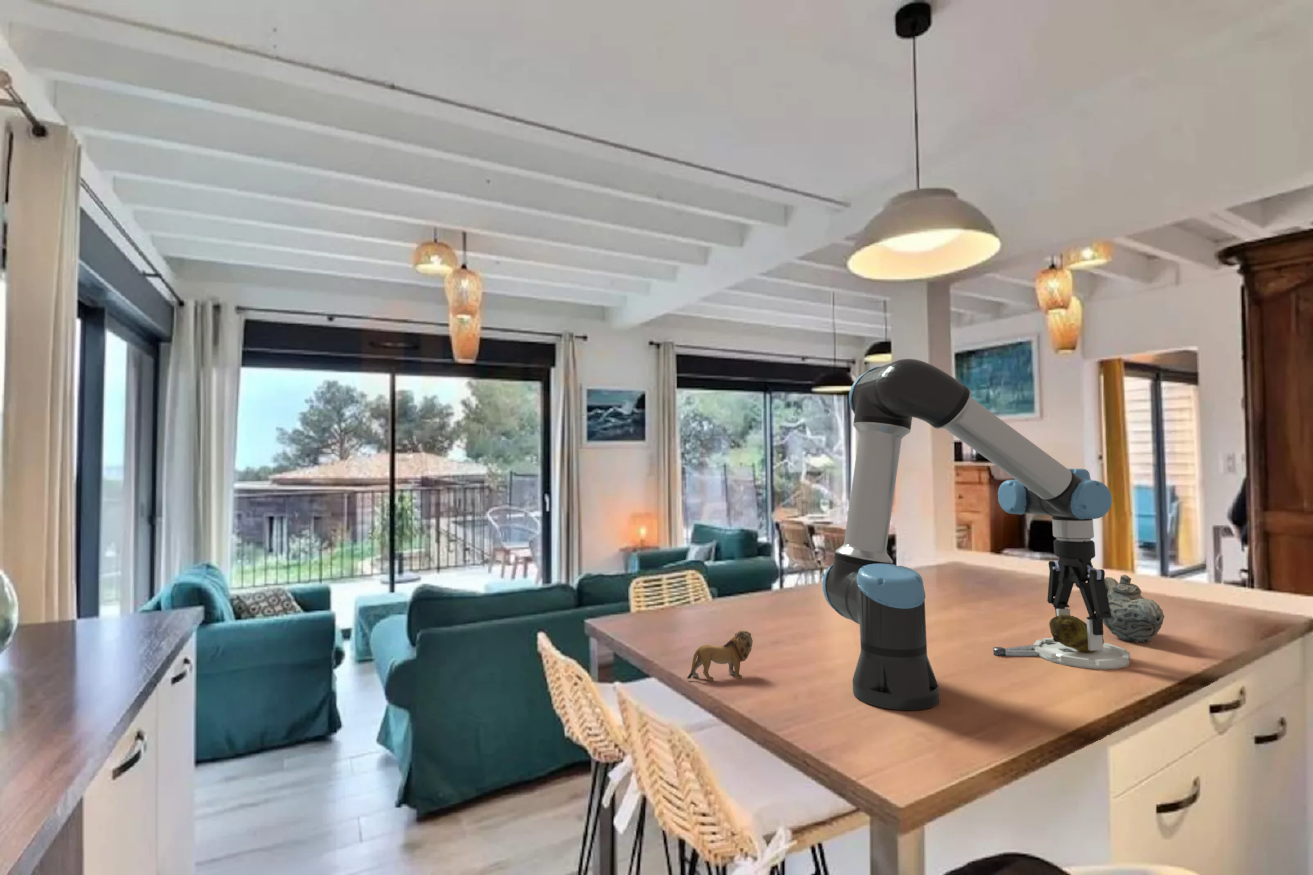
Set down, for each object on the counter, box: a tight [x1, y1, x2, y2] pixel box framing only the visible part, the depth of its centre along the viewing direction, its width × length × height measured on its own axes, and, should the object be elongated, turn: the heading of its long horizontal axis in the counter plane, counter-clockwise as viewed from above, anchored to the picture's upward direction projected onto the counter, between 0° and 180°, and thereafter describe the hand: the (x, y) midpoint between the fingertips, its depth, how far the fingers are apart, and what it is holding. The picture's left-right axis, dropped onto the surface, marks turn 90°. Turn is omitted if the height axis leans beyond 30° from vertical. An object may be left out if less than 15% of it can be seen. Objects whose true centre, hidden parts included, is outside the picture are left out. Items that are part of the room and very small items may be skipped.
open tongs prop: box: [992, 641, 1073, 657], centre depth 140 cm, size 16×9×1 cm, turn 94°
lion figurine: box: [686, 629, 754, 682], centre depth 130 cm, size 15×5×9 cm, turn 107°
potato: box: [1048, 614, 1105, 652], centre depth 137 cm, size 8×13×8 cm, turn 95°
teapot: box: [1103, 574, 1165, 643], centre depth 149 cm, size 21×12×15 cm, turn 171°
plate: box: [1032, 637, 1131, 670], centre depth 137 cm, size 17×17×2 cm
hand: (1079, 643), depth 137 cm, fingers open, 8 cm apart
